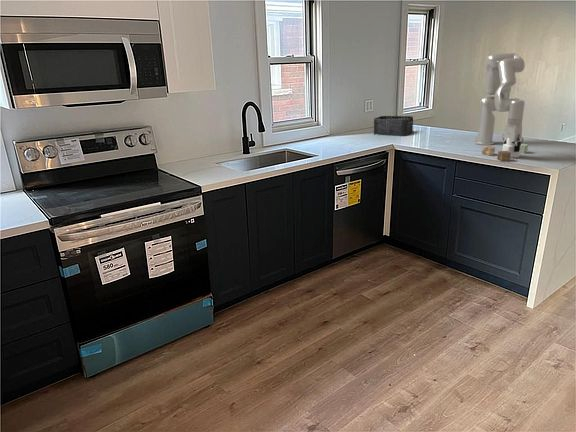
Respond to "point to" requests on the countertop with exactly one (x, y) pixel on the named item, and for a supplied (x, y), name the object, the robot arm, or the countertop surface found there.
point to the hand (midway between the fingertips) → (511, 150)
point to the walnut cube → (503, 156)
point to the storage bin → (393, 125)
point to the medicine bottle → (510, 148)
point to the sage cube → (523, 148)
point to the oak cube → (488, 150)
